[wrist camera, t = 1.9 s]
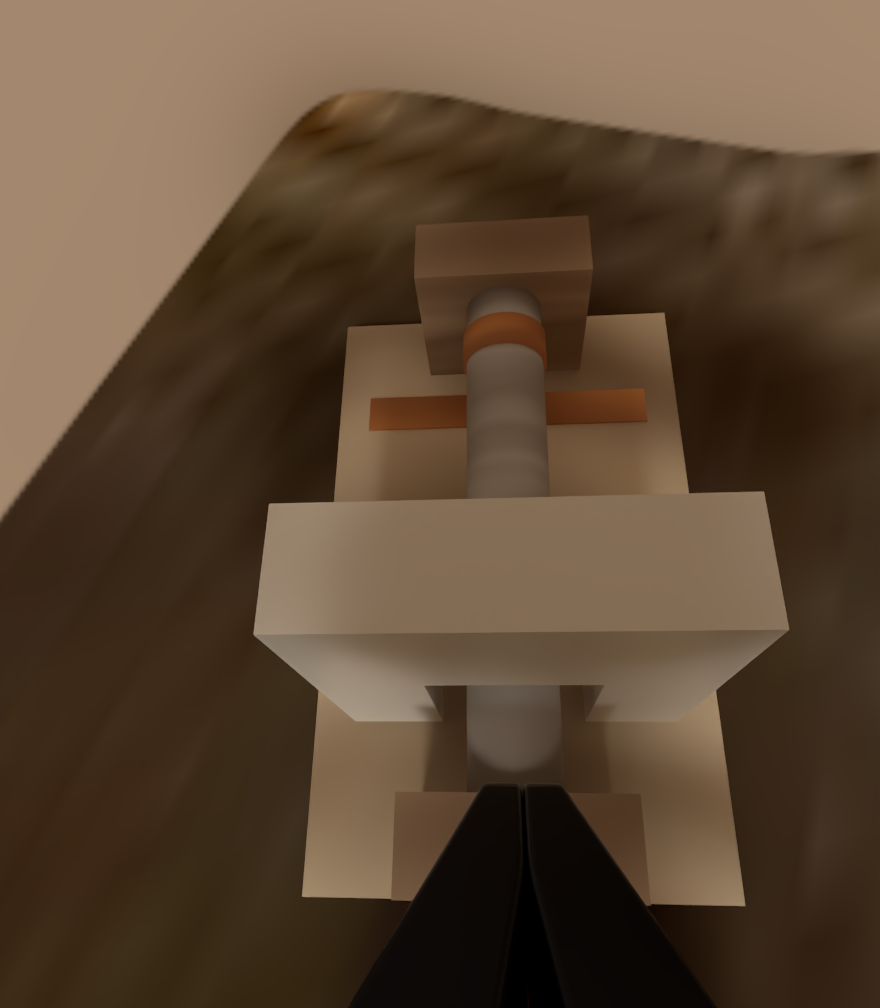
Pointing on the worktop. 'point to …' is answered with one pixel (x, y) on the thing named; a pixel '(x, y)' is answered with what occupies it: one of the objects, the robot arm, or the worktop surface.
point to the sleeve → (521, 599)
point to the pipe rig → (514, 474)
